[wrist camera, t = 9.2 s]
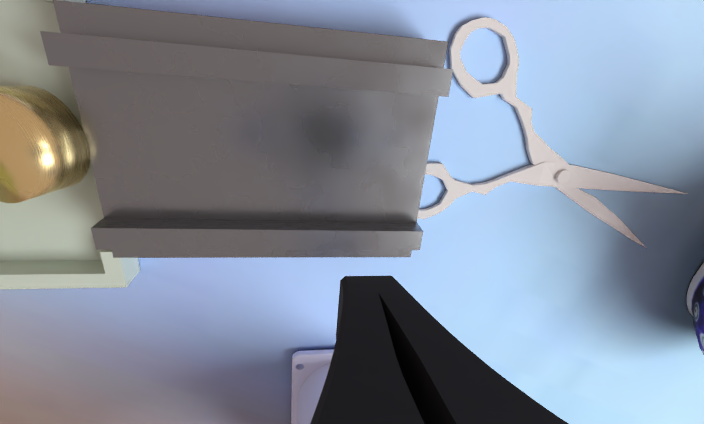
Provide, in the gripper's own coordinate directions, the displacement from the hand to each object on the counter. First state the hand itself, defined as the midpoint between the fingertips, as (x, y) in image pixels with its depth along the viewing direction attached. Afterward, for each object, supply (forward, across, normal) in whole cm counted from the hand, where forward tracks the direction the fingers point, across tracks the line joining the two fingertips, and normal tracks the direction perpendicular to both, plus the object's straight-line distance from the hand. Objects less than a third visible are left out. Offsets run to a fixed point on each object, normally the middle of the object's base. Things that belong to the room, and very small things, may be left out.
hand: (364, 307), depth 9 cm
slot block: (+9, +3, -2) cm, 10 cm away
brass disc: (+8, +12, -2) cm, 14 cm away
